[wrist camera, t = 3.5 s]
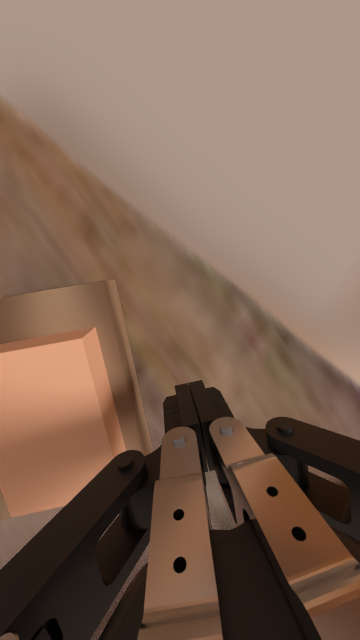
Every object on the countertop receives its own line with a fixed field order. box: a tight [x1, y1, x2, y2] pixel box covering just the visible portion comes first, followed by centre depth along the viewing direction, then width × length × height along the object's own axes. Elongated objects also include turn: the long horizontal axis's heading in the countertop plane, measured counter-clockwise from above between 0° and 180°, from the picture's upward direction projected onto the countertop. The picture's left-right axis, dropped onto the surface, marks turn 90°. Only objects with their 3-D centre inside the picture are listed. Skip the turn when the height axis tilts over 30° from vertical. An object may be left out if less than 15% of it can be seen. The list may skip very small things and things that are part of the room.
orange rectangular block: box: [0, 327, 126, 518], centre depth 13 cm, size 6×9×2 cm, turn 10°
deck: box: [0, 279, 152, 520], centre depth 16 cm, size 11×14×4 cm
